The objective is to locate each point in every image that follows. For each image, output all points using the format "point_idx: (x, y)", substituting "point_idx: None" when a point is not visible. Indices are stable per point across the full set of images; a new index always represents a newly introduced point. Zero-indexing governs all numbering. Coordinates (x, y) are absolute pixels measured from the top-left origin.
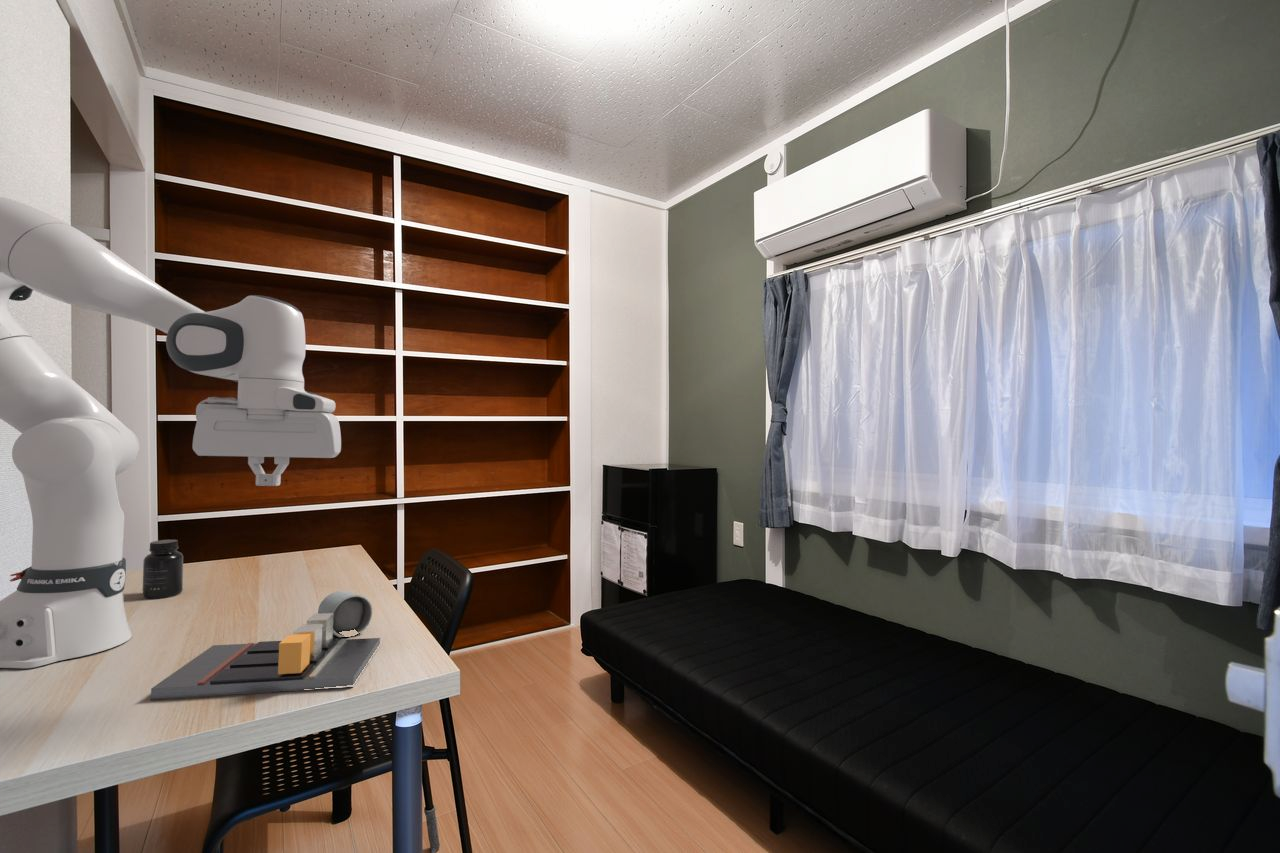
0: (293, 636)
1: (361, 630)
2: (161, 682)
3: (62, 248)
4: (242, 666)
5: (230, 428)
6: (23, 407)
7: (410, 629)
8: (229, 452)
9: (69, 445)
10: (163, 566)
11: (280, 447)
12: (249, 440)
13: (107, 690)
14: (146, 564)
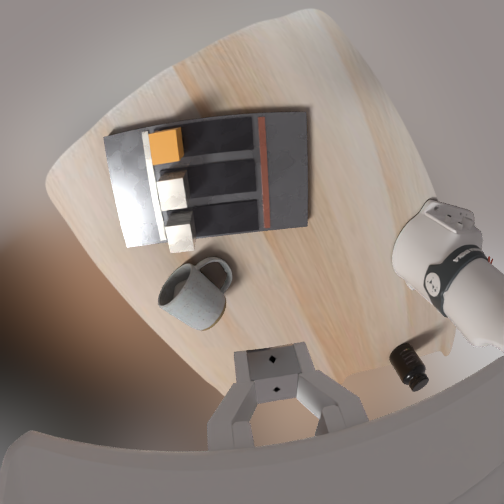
0: (170, 155)
1: (168, 279)
2: (304, 125)
3: None
4: (240, 160)
5: (483, 489)
6: None
7: (124, 291)
8: (442, 403)
9: None
10: (410, 365)
11: (217, 494)
12: (393, 487)
13: (354, 141)
14: (421, 363)
